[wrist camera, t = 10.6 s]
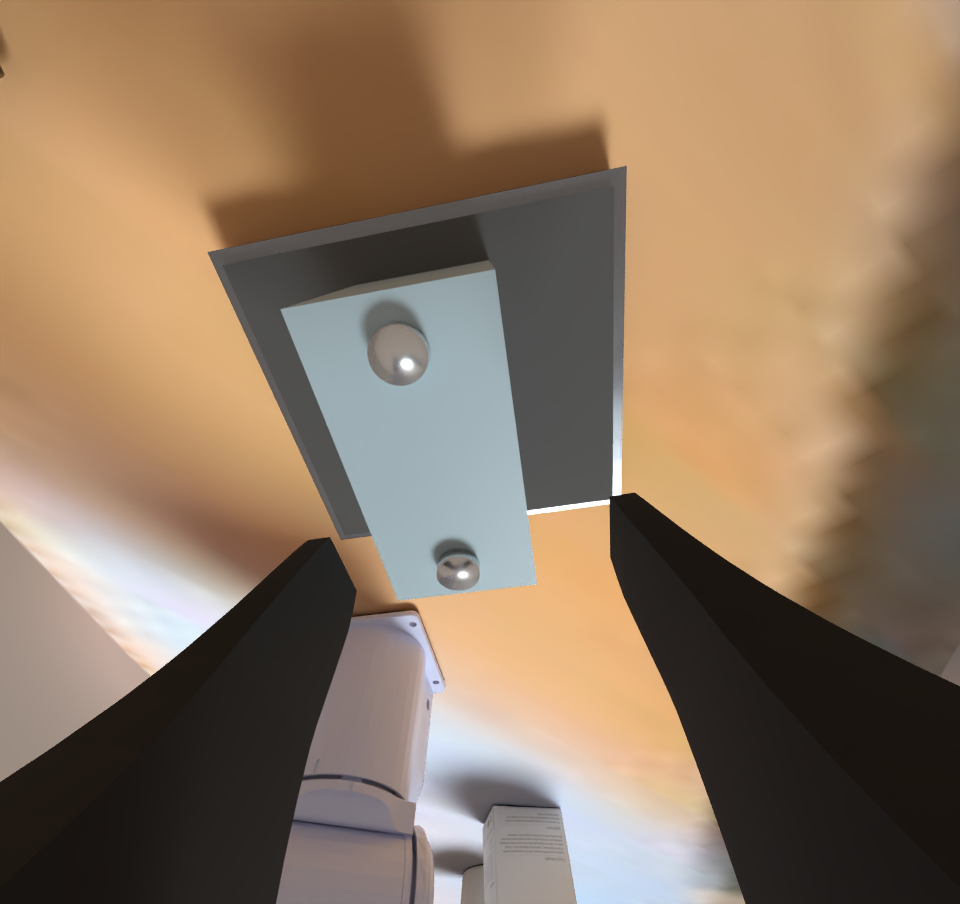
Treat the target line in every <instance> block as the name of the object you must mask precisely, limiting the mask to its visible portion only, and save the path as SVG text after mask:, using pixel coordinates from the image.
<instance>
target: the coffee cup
mask: <svg viewBox="0 0 960 904" xmlns="http://www.w3.org/2000/svg"><path fill="white" fill-rule="evenodd" d="M461 904H485V900H484V865H481V866H475V867H472V868H469V869H468V870H466V871H465V872H464V874H463V880H462V894H461Z"/></svg>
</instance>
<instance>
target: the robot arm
mask: <svg viewBox="0 0 960 904" xmlns="http://www.w3.org/2000/svg"><path fill="white" fill-rule="evenodd" d="M610 557H611V560H612V564H613V567H614V570H615V573H616V576H617V579H618V582H619V584H620V587H621V590H622V593H623V596H624V598H625V600H626V602H627V605H628V607H629V609H630V611H631V613H632V615H633V618H634V620H635V622H636V624H637V626H638V628H639V630H640V632H641V635H642V637H643V639H644V641H645V643H646V645H647V647H648V649H649V651H650V654H651V656H652V658H653V660H654V662H655V664H656V666H657V668H658V670H659V673H660V675H661V677H662V679H663V681H664V683H665V685H666V687H667V690H668V692H669V694H670V697H671V699H672V701H673V704H674V706H675V708H676V711H677V713H678V716H679V718H680V721H681V724H682V726H683V729H684V732H685V734H686V737H687V740H688V742H689V745H690V748H691V750H692V753H693V756H694V758H695V761H696V764H697V767H698V769H699V772H700V775H701V778H702V780H703V783H704V786H705V789H706V792H707V794H708V797H709V800H710V803H711V805H712V808H713V811H714V814H715V817H716V819H717V822H718V825H719V828H720V831H721V834H722V836H723V839H724V842H725V845H726V848H727V851H728V854H729V857H730V860H731V863H732V866H733V868H734V871H735V874H736V877H737V880H738V883H739V886H740V889H741V892H742V895H743V897H744V900H745V903H746V904H960V686H958V685H956V684H954V683H952V682H949V681H947V680H945V679H943V678H941V677H939V676H937V675H935V674H932V673H930V672H928V671H926V670H924V669H922V668H920V667H918V666H915V665H913V664H911V663H909V662H907V661H905V660H903V659H901V658H899V657H897V656H895V655H893V654H891V653H889V652H887V651H885V650H883V649H881V648H879V647H877V646H875V645H873V644H871V643H869V642H867V641H865V640H863V639H861V638H859V637H857V636H855V635H853V634H852V633H850V632H848V631H846V630H844V629H842V628H840V627H838V626H836V625H835V624H833V623H831V622H829V621H827V620H825V619H823V618H822V617H820V616H818V615H816V614H815V613H813V612H811V611H809V610H807V609H806V608H804V607H802V606H800V605H799V604H797V603H795V602H793V601H792V600H790V599H788V598H786V597H785V596H783V595H781V594H779V593H778V592H776V591H774V590H773V589H771V588H769V587H768V586H766V585H764V584H763V583H761V582H760V581H758V580H756V579H755V578H753V577H752V576H750V575H749V574H747V573H746V572H744V571H742V570H741V569H739V568H738V567H736V566H735V565H733V564H732V563H730V562H728V561H727V560H725V559H724V558H723V557H721V556H720V555H718V554H717V553H715V552H714V551H712V550H711V549H710V548H708V547H707V546H705V545H704V544H703V543H701V542H700V541H698V540H697V539H696V538H694V537H693V536H691V535H690V534H689V533H687V532H686V531H685V530H683V529H682V528H681V527H679V526H678V525H677V524H675V523H674V522H673V521H671V520H670V519H669V518H667V517H666V516H665V515H663V514H662V513H661V512H660V511H658V510H657V509H656V508H654V507H653V506H652V505H651V504H649V503H648V502H647V501H645V500H644V499H643V498H641V497H640V496H639V495H637V494H636V493H629V494H622V495H616V496H610ZM355 597H356V589H355V587H354V585H353V583H352V581H351V579H350V577H349V575H348V573H347V571H346V568H345V566H344V564H343V562H342V560H341V558H340V556H339V554H338V552H337V550H336V548H335V546H334V544H333V542H332V540H331V538H330V537H327V538H321V539H314V540H308V541H307V542H305V543H304V544H303V545H302V546H300V547H299V548H298V549H297V550H296V551H295V552H293V553H292V554H291V555H290V556H289V557H288V558H287V559H286V560H284V561H283V562H282V563H281V564H280V565H279V566H278V567H277V568H276V569H275V570H274V571H272V572H271V573H270V574H269V575H268V576H267V577H266V578H265V579H264V580H263V581H262V582H261V583H259V584H258V585H257V586H256V587H255V588H254V589H253V590H252V591H251V592H250V593H249V594H247V595H246V596H245V597H244V598H243V599H242V600H241V601H240V602H239V603H238V604H237V605H235V606H234V607H233V608H232V609H231V610H230V611H229V612H228V613H226V614H225V615H224V616H223V617H222V618H221V619H219V620H218V621H217V622H216V623H215V624H214V625H212V626H211V627H210V628H209V629H208V630H207V631H206V632H204V633H203V634H202V635H201V636H200V637H199V638H197V639H196V640H195V641H194V642H193V643H192V644H191V645H189V646H188V647H187V648H186V649H185V650H183V651H182V652H181V653H180V654H178V655H177V656H176V657H175V658H174V659H172V660H171V661H170V662H169V663H167V664H166V665H165V666H164V667H162V668H161V669H160V670H158V671H157V672H156V673H155V674H153V675H152V676H151V677H149V678H148V679H147V680H146V681H144V682H143V683H142V684H141V685H139V686H138V687H136V688H135V689H134V690H132V691H131V692H130V693H129V694H127V695H126V696H124V697H123V698H122V699H120V700H119V701H118V702H116V703H115V704H114V705H112V706H111V707H110V708H108V709H107V710H105V711H104V712H102V713H101V714H99V715H98V716H96V717H95V718H94V719H92V720H91V721H89V722H88V723H87V724H85V725H84V726H82V727H81V728H79V729H78V730H77V731H75V732H74V733H72V734H71V735H70V736H68V737H67V738H65V739H64V740H63V741H61V742H60V743H58V744H57V745H55V746H54V747H53V748H51V749H50V750H48V751H47V752H45V753H44V754H42V755H41V756H39V757H38V758H36V759H35V760H33V761H31V762H30V763H28V764H27V765H26V766H24V767H22V768H21V769H19V770H18V771H16V772H15V773H13V774H12V775H10V776H9V777H7V778H6V779H4V780H3V781H1V782H0V904H433V899H434V863H433V855H432V850H431V847H430V844H429V842H428V840H427V837H426V834H425V831H424V829H423V828H422V827H421V826H414V818H415V810H416V802H417V800H418V798H419V795H420V793H421V789H422V786H423V781H424V775H425V765H426V755H427V746H428V736H429V726H430V716H431V707H432V697H433V693H441V692H444V691H445V682H444V679H443V677H442V674H441V672H440V669H439V666H438V664H437V661H436V658H435V656H434V653H433V650H432V648H431V645H430V642H429V640H428V637H427V634H426V632H425V629H424V627H423V624H422V621H421V619H420V616H419V614H418V613H417V612H416V611H413V610H409V611H401V612H392V613H384V614H375V615H367V616H358V617H352V613H353V608H354V602H355Z"/></svg>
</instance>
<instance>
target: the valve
mask: <svg viewBox="0 0 960 904" xmlns="http://www.w3.org/2000/svg"><path fill="white" fill-rule="evenodd" d="M4 75H5V74H4V71H3V69H2V67H1V65H0V78H3V77H4Z"/></svg>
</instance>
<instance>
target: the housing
mask: <svg viewBox="0 0 960 904" xmlns="http://www.w3.org/2000/svg"><path fill="white" fill-rule="evenodd" d="M280 310H281V312H282V315H283V317H284V320H285V322H286V325H287V327H288V330H289V332H290V335H291V337H292V340H293V342H294V345H295V347H296V350H297V352H298V354H299V357H300V359H301V362H302V364H303V367H304V369H305V372H306V374H307V377H308V379H309V382H310V384H311V387H312V389H313V392H314V394H315V397H316V399H317V401H318V404H319V406H320V409H321V411H322V414H323V416H324V419H325V421H326V424H327V426H328V429H329V431H330V434H331V436H332V439H333V441H334V444H335V446H336V448H337V451H338V453H339V456H340V458H341V461H342V463H343V466H344V468H345V471H346V473H347V476H348V478H349V481H350V483H351V486H352V488H353V491H354V493H355V496H356V498H357V500H358V503H359V505H360V508H361V510H362V513H363V515H364V518H365V520H366V523H367V525H368V528H369V530H370V533H371V535H372V538H373V540H374V543H375V545H376V547H377V550H378V552H379V555H380V557H381V560H382V562H383V565H384V567H385V570H386V572H387V575H388V577H389V580H390V582H391V585H392V587H393V590H394V592H395V594H396V597H397V599H398V601H399V600H407V599H416V598H424V597H433V596H441V595H450V594H458V593H467V592H475V591H484V590H492V589H501V588H509V587H518V586H526V585H535V584H537V581H536V573H535V566H534V558H533V551H532V543H531V536H530V528H529V520H528V513H527V505H526V498H525V490H524V483H523V475H522V468H521V460H520V453H519V445H518V438H517V430H516V423H515V415H514V408H513V400H512V393H511V385H510V377H509V370H508V362H507V355H506V347H505V340H504V332H503V325H502V317H501V310H500V302H499V295H498V287H497V280H496V272H495V268H494V267H493V265H492V264H491V262H490V261H489V260H487V261H481V262H476V263H471V264H465V265H460V266H455V267H449V268H444V269H439V270H433V271H428V272H423V273H418V274H412V275H407V276H402V277H396V278H391V279H386V280H380V281H375V282H370V283H364V284H359V285H355V286H351V287H348V288H345V289H342V290H339V291H336V292H333V293H330V294H326V295H323V296H320V297H317V298H314V299H311V300H308V301H305V302H301V303H298V304H295V305H292V306H289V307H286V308H283V309H280Z"/></svg>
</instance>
